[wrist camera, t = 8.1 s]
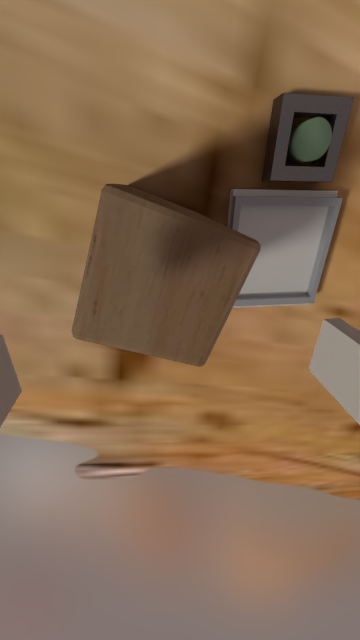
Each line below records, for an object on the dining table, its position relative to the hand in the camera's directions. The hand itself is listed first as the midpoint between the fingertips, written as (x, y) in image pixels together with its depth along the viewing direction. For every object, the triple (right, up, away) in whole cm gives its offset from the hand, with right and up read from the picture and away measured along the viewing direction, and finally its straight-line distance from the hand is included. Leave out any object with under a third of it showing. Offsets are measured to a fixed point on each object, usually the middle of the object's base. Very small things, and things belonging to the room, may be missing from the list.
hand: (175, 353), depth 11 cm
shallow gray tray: (+13, +11, +26) cm, 31 cm away
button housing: (+15, +23, +20) cm, 34 cm away
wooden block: (-3, +12, +23) cm, 27 cm away
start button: (+15, +22, +20) cm, 33 cm away
